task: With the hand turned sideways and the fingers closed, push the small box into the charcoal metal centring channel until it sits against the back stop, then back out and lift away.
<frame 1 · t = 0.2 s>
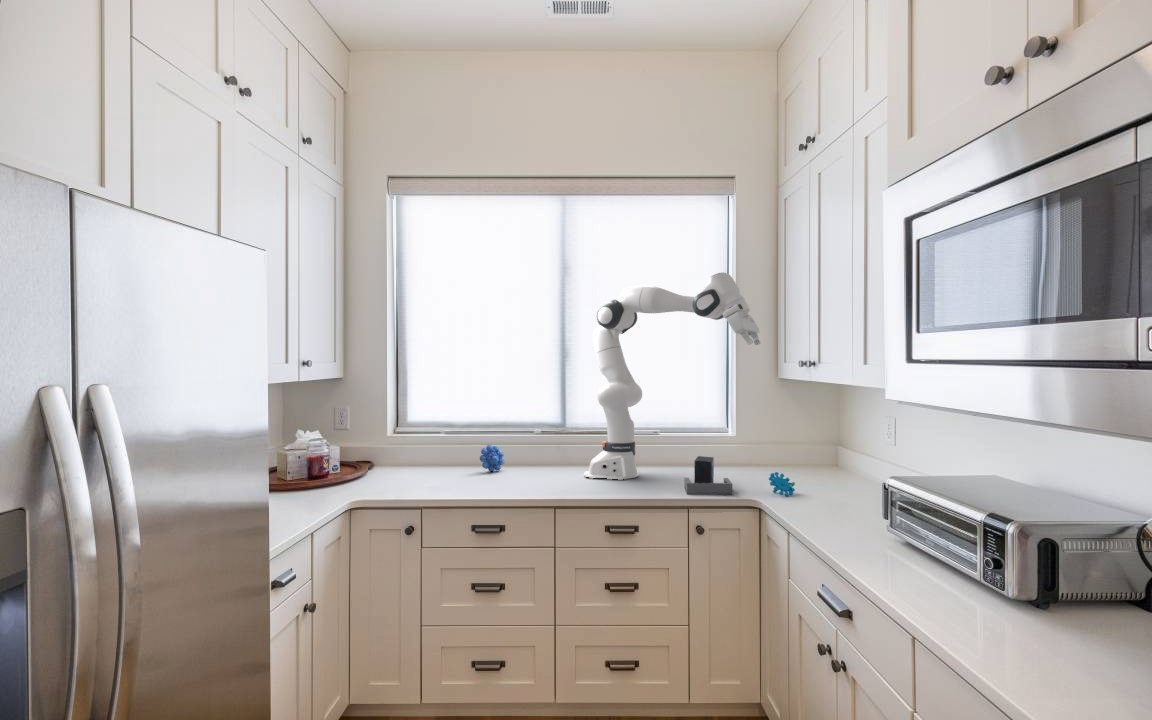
hand: (754, 344, 216), 54 cm above the table, tool tilted 30°, fingers open, 8 cm apart
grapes: (493, 472, 256), on the table
small box: (704, 486, 227), on the table
gear: (782, 495, 212), on the table
centring channel: (707, 491, 217), on the table
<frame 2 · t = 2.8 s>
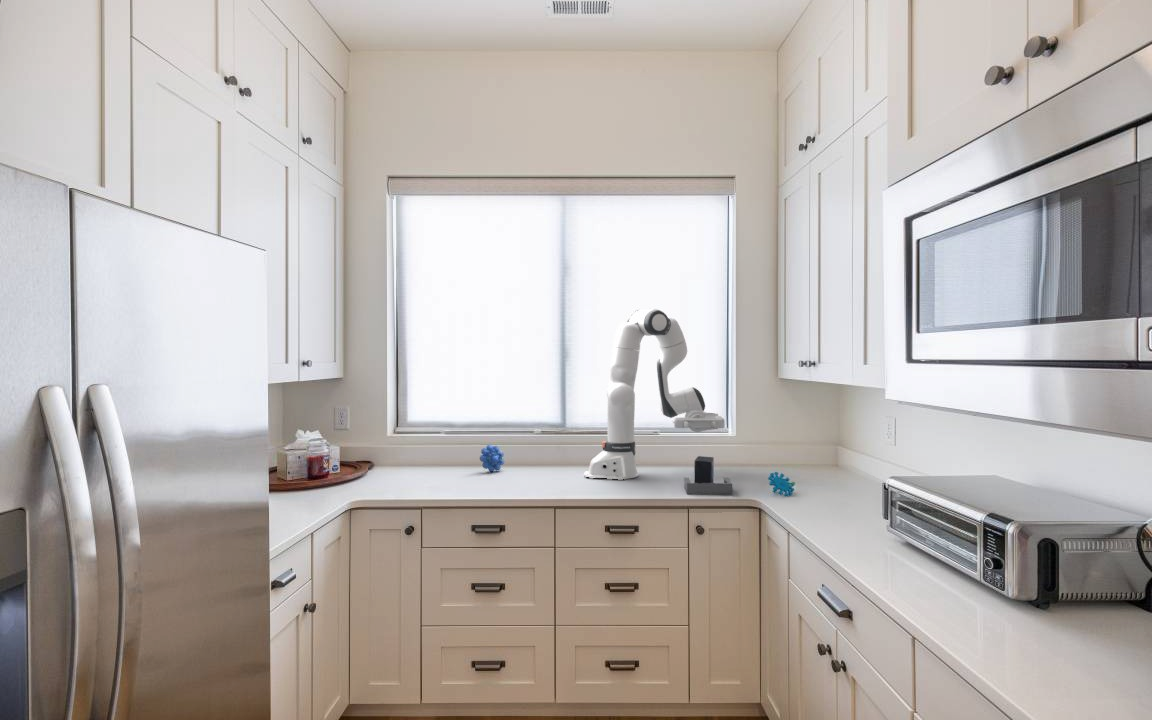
hand: (700, 425, 237), 22 cm above the table, tool horizontal, fingers open, 8 cm apart
nothing on the table moved.
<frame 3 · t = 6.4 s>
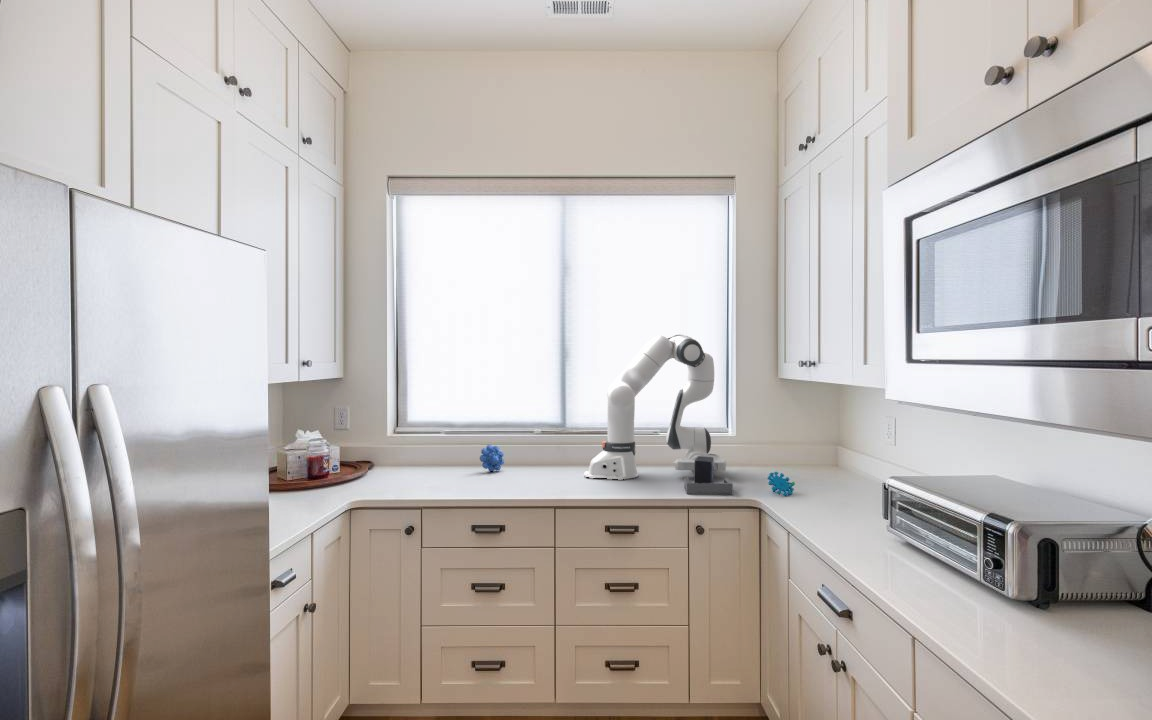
hand: (702, 468, 233), 5 cm above the table, tool horizontal, fingers closed
small box: (704, 486, 227), on the table, touching gripper
everything else where it was.
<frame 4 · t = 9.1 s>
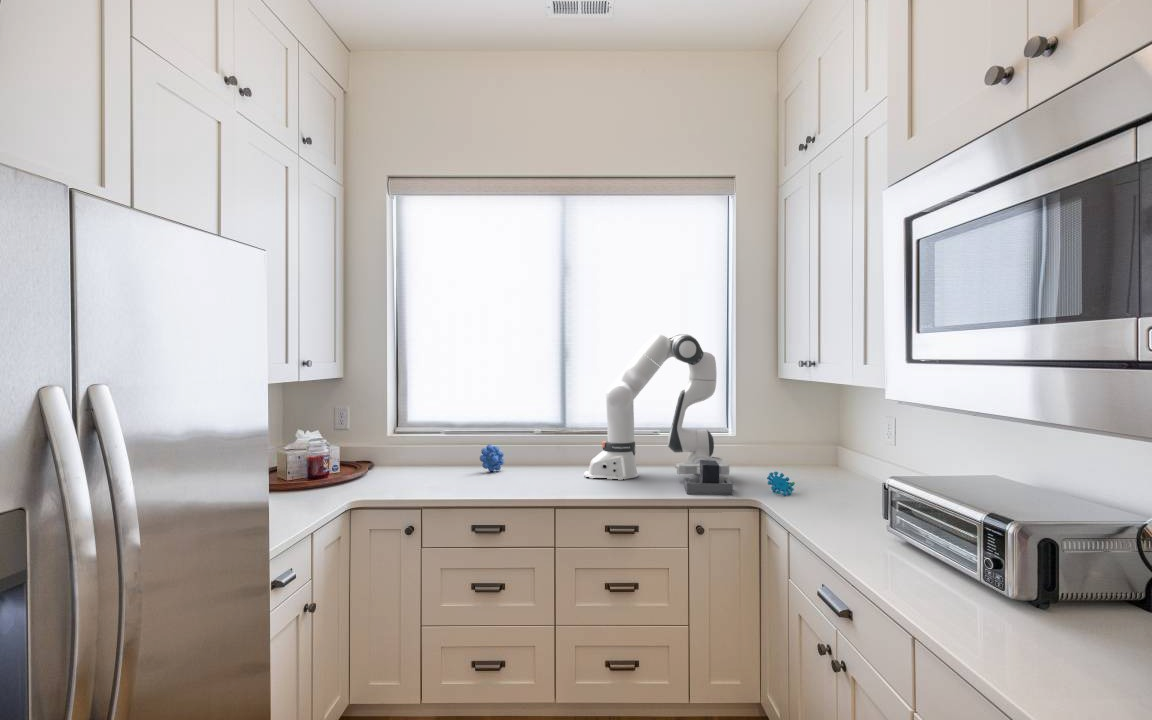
hand: (704, 472, 225), 6 cm above the table, tool horizontal, fingers closed
small box: (709, 491, 219), on the table
everything else where it was.
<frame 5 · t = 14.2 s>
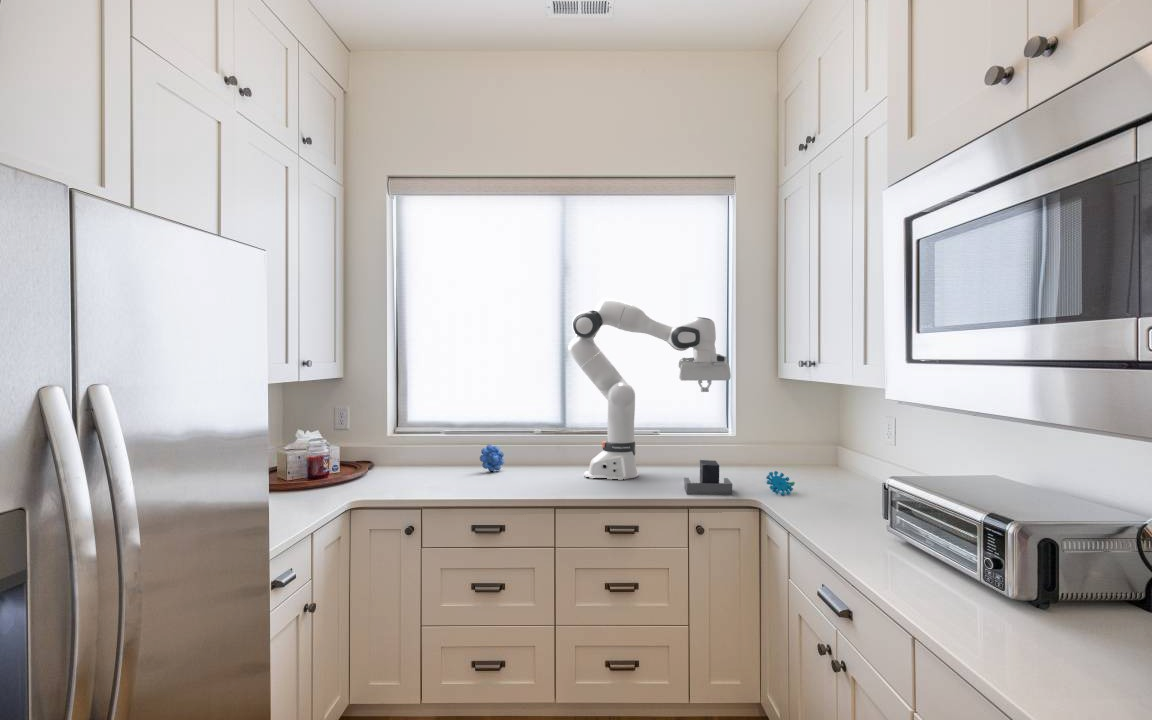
hand: (704, 391, 240), 35 cm above the table, tool pointing down, fingers closed
at the end: small box inside the target area (0.9 cm from its centre), on the table; small box tilted 0° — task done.
